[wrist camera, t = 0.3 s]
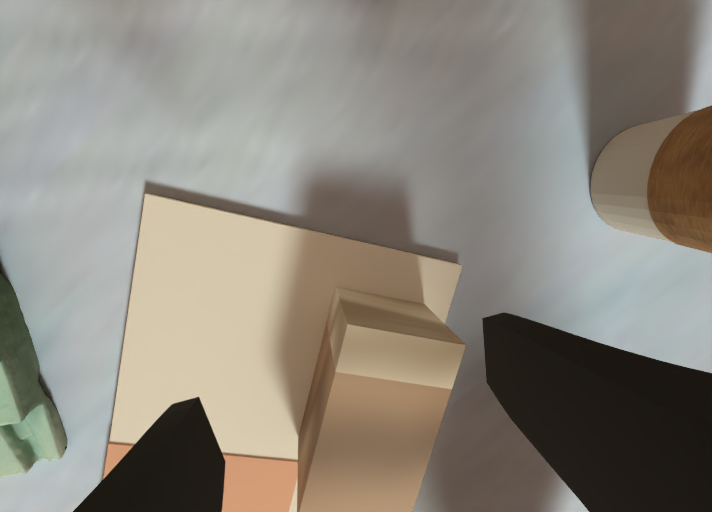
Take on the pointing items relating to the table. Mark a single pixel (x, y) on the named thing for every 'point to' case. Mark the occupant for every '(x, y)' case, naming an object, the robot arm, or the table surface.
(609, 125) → the table surface
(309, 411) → the two tone block
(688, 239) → the coffee cup
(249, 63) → the table surface
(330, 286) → the mat
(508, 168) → the table surface
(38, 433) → the money
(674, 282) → the table surface
